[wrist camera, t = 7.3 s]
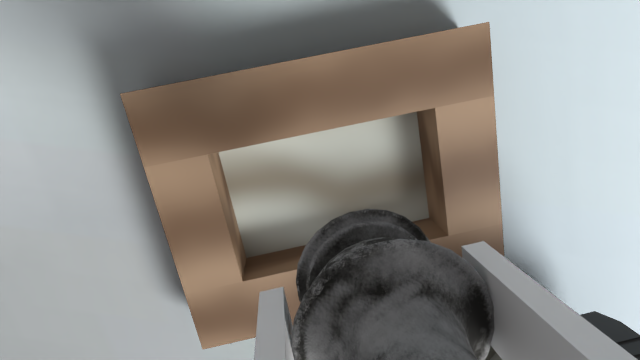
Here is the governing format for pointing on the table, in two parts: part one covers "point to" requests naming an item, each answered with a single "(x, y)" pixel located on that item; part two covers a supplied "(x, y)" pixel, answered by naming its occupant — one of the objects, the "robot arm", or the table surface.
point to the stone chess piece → (387, 295)
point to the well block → (316, 162)
